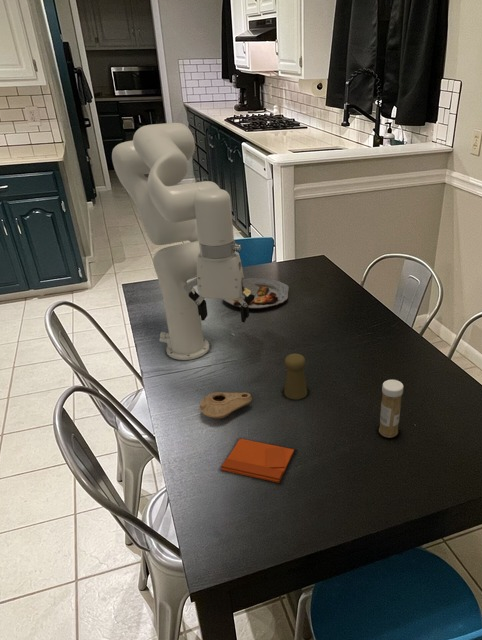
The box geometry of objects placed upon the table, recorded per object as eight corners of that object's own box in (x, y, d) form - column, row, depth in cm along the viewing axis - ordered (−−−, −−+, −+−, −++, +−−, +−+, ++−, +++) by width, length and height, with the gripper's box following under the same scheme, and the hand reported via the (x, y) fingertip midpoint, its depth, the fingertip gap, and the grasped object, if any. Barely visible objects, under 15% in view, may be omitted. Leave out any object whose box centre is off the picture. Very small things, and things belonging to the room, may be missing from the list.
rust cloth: (221, 470, 106) (221, 466, 106) (240, 440, 114) (239, 436, 114) (279, 483, 103) (279, 479, 103) (294, 451, 111) (294, 447, 111)
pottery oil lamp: (257, 414, 122) (248, 401, 116) (212, 433, 122) (200, 421, 116) (249, 385, 127) (239, 371, 121) (205, 404, 127) (194, 391, 121)
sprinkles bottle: (401, 436, 115) (407, 388, 108) (382, 439, 114) (387, 391, 107) (393, 424, 119) (398, 377, 112) (375, 427, 118) (379, 380, 111)
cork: (290, 401, 127) (289, 365, 121) (280, 389, 131) (278, 353, 126) (311, 395, 129) (311, 359, 123) (300, 383, 134) (300, 348, 128)
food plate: (287, 313, 170) (286, 303, 168) (218, 313, 170) (217, 303, 168) (289, 284, 191) (289, 275, 189) (229, 284, 191) (228, 275, 189)
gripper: (259, 244, 111) (263, 313, 121) (184, 242, 113) (193, 310, 122) (253, 256, 105) (257, 328, 114) (173, 253, 107) (183, 324, 116)
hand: (224, 318), depth 118 cm, fingers open, 9 cm apart
